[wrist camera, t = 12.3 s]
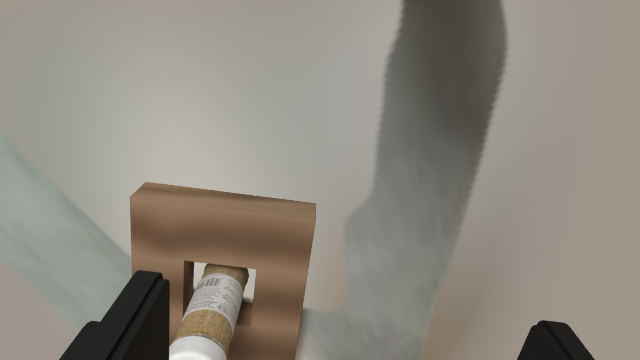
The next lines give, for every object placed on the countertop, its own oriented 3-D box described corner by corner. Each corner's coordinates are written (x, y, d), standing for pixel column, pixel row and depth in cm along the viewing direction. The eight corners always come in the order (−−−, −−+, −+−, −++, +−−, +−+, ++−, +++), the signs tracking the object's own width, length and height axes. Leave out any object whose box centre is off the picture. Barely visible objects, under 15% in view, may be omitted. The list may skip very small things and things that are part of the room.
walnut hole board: (145, 181, 39) (130, 196, 36) (316, 203, 40) (315, 220, 36) (147, 334, 45) (134, 359, 42) (293, 350, 46) (292, 375, 43)
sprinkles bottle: (208, 291, 43) (164, 403, 31) (201, 253, 42) (151, 355, 29) (252, 289, 43) (225, 401, 31) (247, 251, 41) (217, 353, 29)
